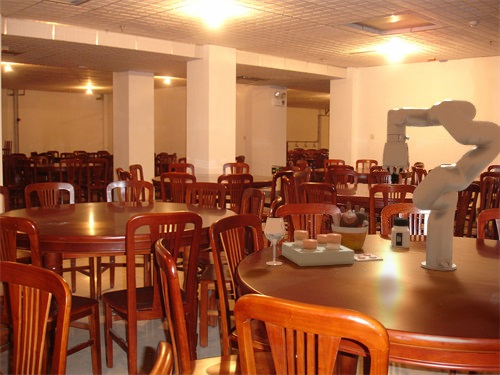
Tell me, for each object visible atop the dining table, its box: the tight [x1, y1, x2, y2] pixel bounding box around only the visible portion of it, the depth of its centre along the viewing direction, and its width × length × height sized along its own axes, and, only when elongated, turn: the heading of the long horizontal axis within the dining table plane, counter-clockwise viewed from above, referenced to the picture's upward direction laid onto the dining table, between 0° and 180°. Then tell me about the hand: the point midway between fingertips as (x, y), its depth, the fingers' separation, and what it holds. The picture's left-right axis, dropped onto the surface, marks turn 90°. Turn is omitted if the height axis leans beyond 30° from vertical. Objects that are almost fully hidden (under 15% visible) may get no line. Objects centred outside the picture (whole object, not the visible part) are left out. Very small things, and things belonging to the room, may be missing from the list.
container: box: [390, 217, 411, 249], centre depth 252 cm, size 8×8×13 cm
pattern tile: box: [354, 253, 384, 262], centre depth 224 cm, size 11×11×1 cm
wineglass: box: [263, 215, 287, 267], centre depth 210 cm, size 8×8×18 cm
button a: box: [326, 233, 341, 250], centre depth 217 cm, size 6×6×7 cm
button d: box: [293, 229, 309, 247], centre depth 224 cm, size 6×6×7 cm
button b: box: [316, 233, 327, 246], centre depth 226 cm, size 6×6×7 cm
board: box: [281, 241, 355, 267], centre depth 220 cm, size 22×22×5 cm
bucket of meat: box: [330, 201, 370, 251], centre depth 245 cm, size 20×16×20 cm
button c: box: [303, 238, 317, 251], centre depth 214 cm, size 6×6×7 cm
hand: (394, 183), depth 228 cm, fingers closed
